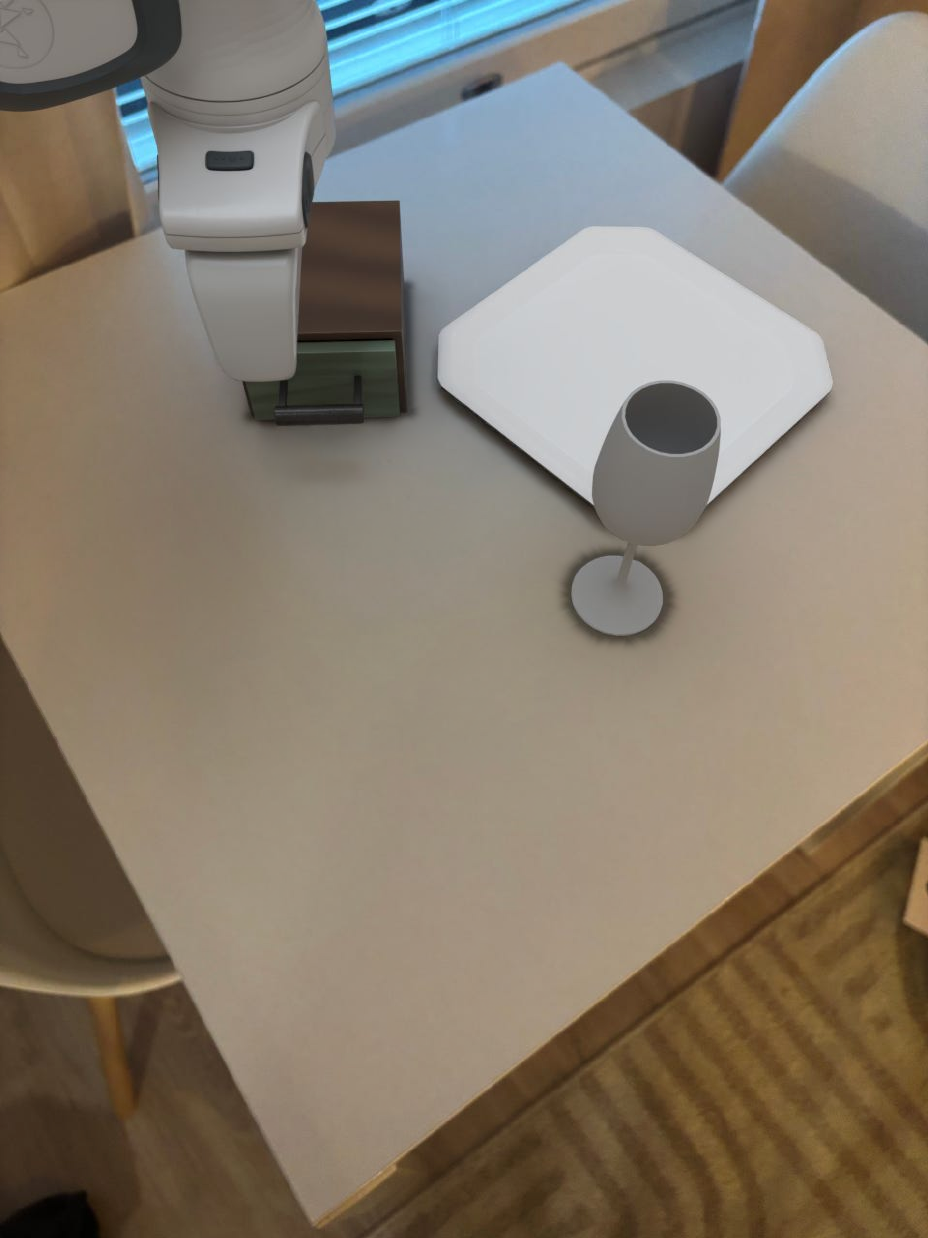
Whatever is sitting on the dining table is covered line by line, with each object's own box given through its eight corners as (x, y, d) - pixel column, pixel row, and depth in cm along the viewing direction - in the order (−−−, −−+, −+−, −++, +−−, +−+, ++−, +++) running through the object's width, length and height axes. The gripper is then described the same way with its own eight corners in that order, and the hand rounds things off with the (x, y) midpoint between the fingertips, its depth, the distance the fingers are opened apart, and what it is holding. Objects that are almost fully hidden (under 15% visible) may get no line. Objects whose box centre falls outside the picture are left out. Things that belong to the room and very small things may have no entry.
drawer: (400, 458, 79) (395, 395, 72) (252, 463, 79) (233, 399, 72) (398, 296, 88) (393, 226, 82) (265, 299, 88) (249, 229, 81)
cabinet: (407, 412, 83) (402, 330, 74) (251, 416, 82) (228, 334, 74) (404, 286, 90) (399, 199, 82) (261, 289, 90) (242, 202, 81)
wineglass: (638, 543, 77) (697, 356, 58) (681, 620, 73) (759, 447, 55) (553, 571, 75) (586, 388, 57) (593, 651, 72) (642, 484, 53)
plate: (613, 221, 95) (616, 202, 93) (854, 376, 85) (863, 359, 84) (403, 371, 85) (402, 353, 83) (650, 566, 75) (655, 551, 74)
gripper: (196, -15, 51) (243, 207, 63) (154, 246, 41) (218, 449, 53) (314, -14, 51) (337, 206, 63) (300, 245, 41) (331, 446, 54)
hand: (283, 319), depth 58 cm, fingers closed
